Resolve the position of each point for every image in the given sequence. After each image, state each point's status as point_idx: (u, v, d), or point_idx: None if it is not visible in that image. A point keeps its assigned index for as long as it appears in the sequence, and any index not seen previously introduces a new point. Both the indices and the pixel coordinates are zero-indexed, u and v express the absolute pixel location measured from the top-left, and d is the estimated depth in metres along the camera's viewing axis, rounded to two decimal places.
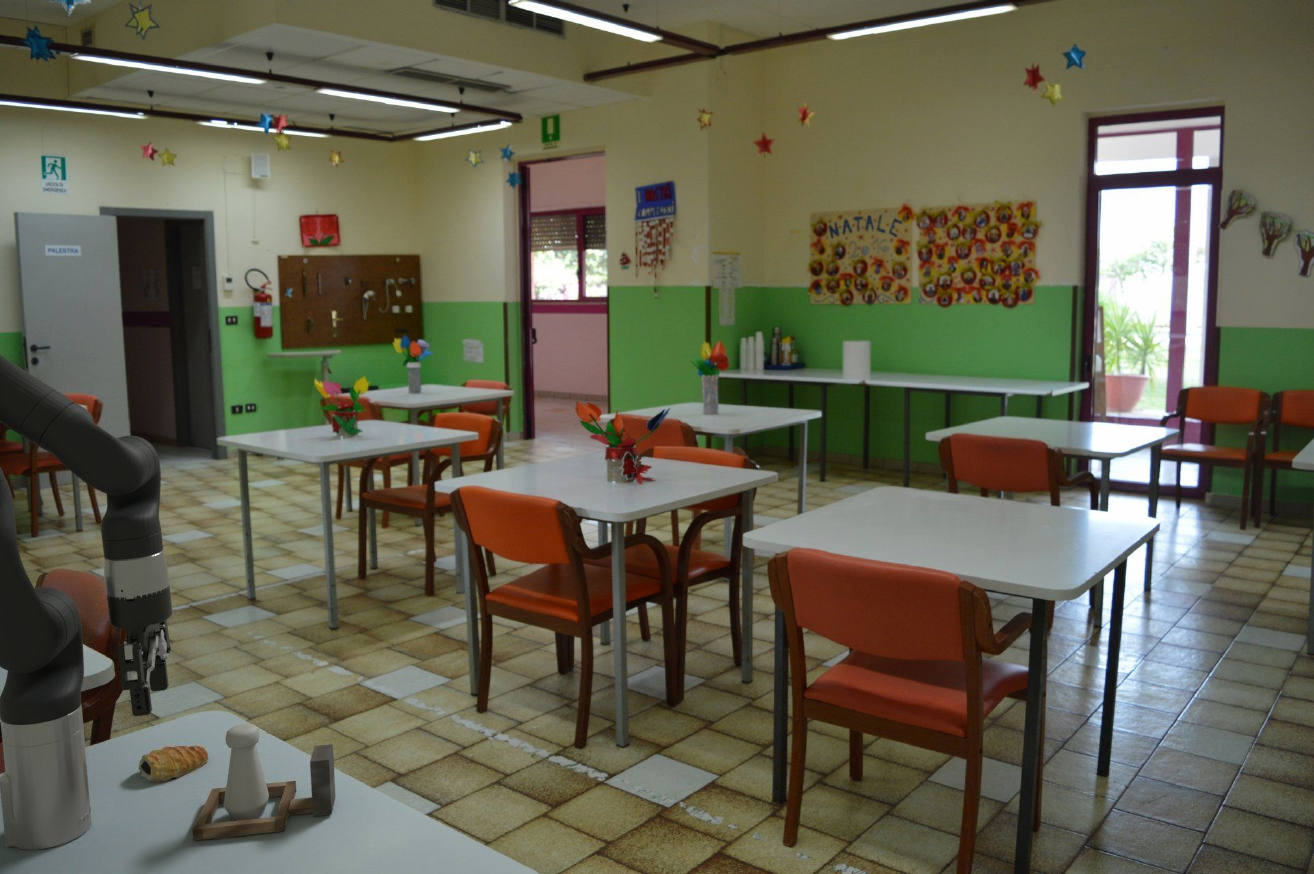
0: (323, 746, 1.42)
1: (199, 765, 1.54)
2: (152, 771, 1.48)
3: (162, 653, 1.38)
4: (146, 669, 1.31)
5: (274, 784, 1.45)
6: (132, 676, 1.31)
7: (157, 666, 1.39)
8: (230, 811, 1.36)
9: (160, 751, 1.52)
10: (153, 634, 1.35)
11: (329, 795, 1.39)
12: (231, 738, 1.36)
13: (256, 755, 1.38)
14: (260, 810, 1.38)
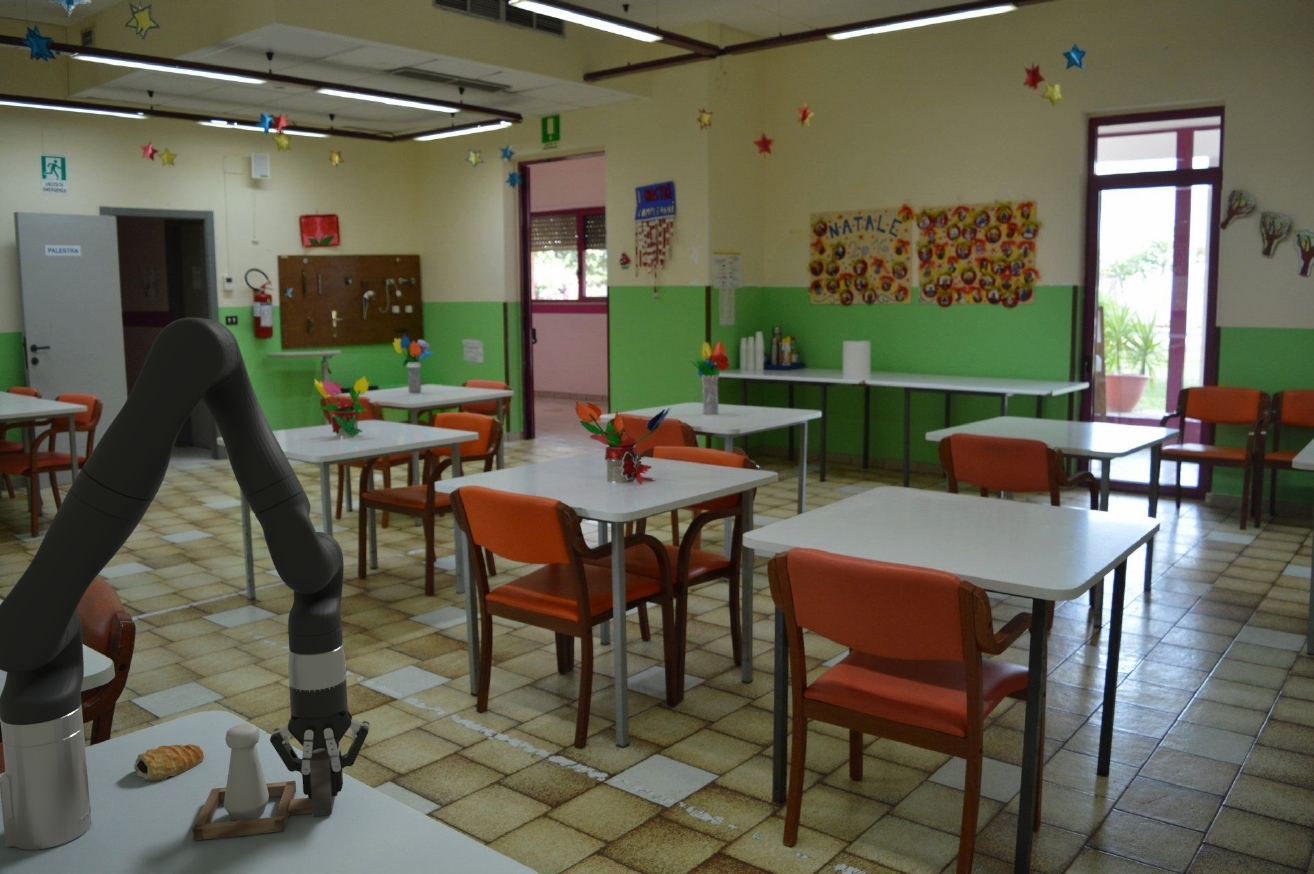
0: None
1: (195, 764, 1.54)
2: (149, 770, 1.49)
3: None
4: (340, 749, 1.42)
5: (274, 784, 1.45)
6: None
7: None
8: (230, 811, 1.36)
9: (156, 750, 1.52)
10: None
11: (329, 795, 1.39)
12: (231, 738, 1.36)
13: (256, 755, 1.38)
14: (260, 810, 1.38)
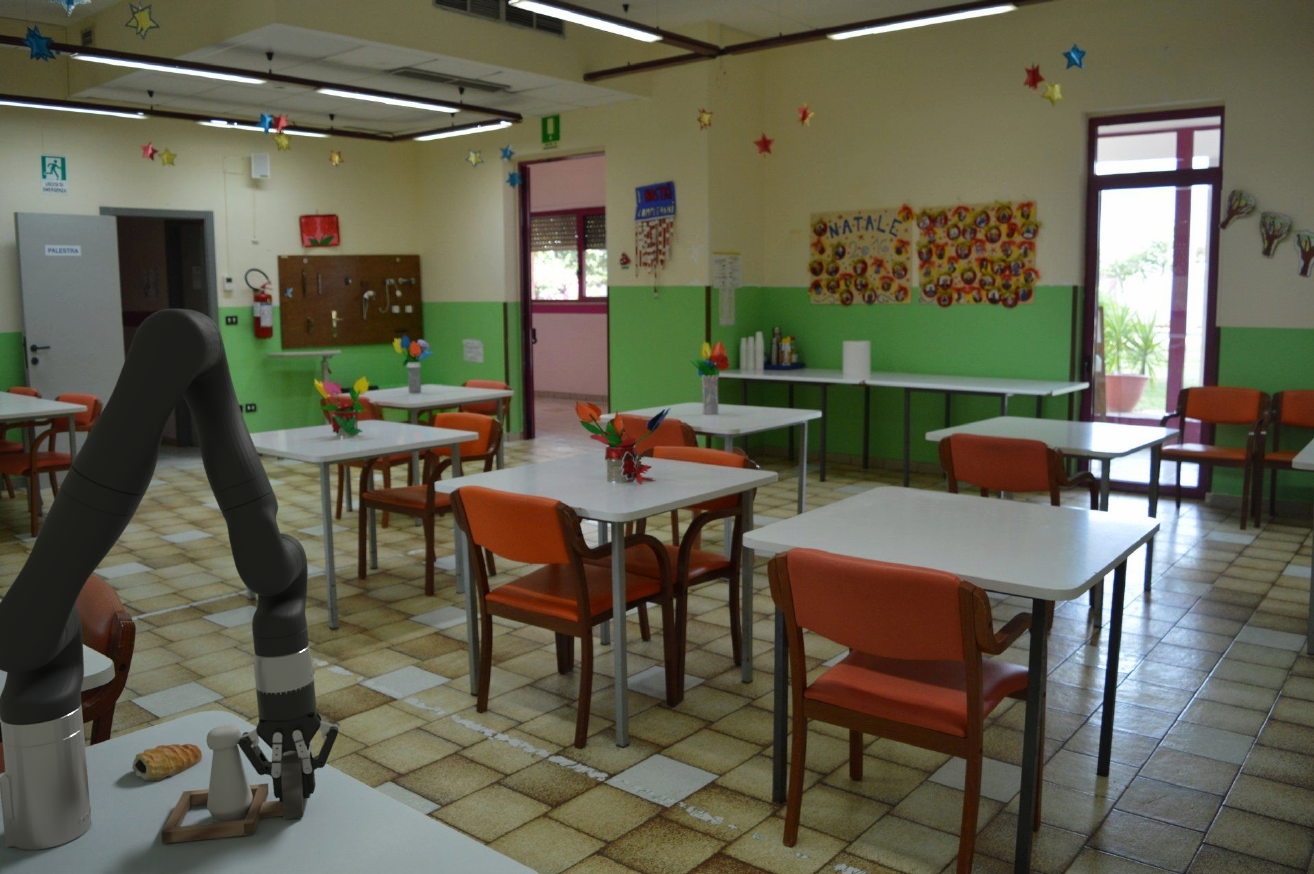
0: None
1: (194, 763, 1.54)
2: (148, 769, 1.49)
3: None
4: (311, 750, 1.41)
5: None
6: None
7: None
8: (213, 812, 1.36)
9: (154, 749, 1.52)
10: None
11: (300, 798, 1.38)
12: (211, 739, 1.35)
13: (238, 756, 1.38)
14: (243, 811, 1.37)
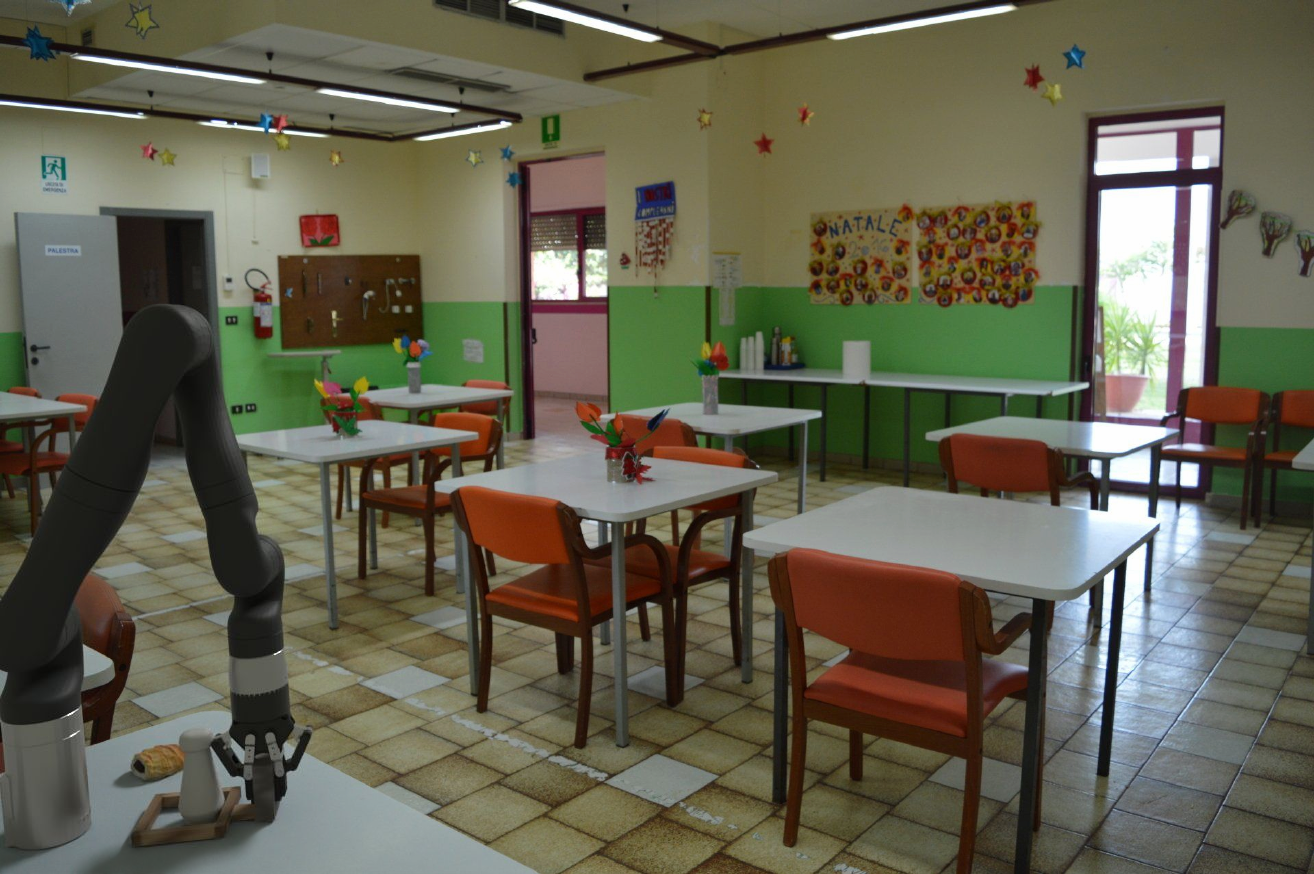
0: None
1: None
2: (146, 769, 1.49)
3: (257, 754, 1.40)
4: (284, 753, 1.40)
5: None
6: None
7: None
8: (184, 815, 1.35)
9: (152, 749, 1.52)
10: None
11: (272, 801, 1.37)
12: (183, 741, 1.35)
13: (210, 759, 1.37)
14: (214, 814, 1.37)
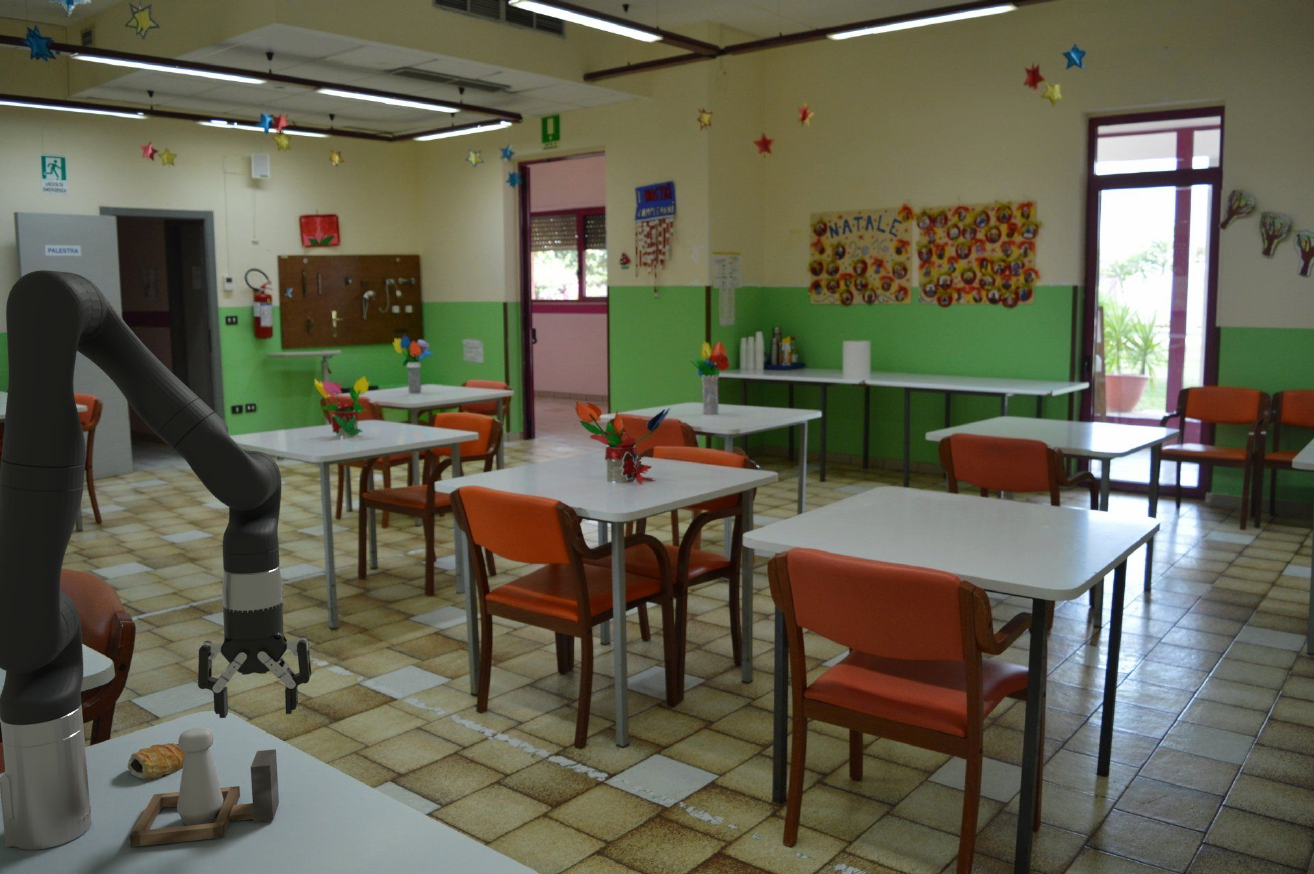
0: (266, 751, 1.41)
1: None
2: (144, 769, 1.49)
3: None
4: (289, 667, 1.39)
5: None
6: None
7: (225, 690, 1.36)
8: (182, 815, 1.35)
9: (149, 749, 1.53)
10: None
11: (270, 801, 1.37)
12: (183, 741, 1.35)
13: (210, 759, 1.37)
14: (213, 814, 1.37)
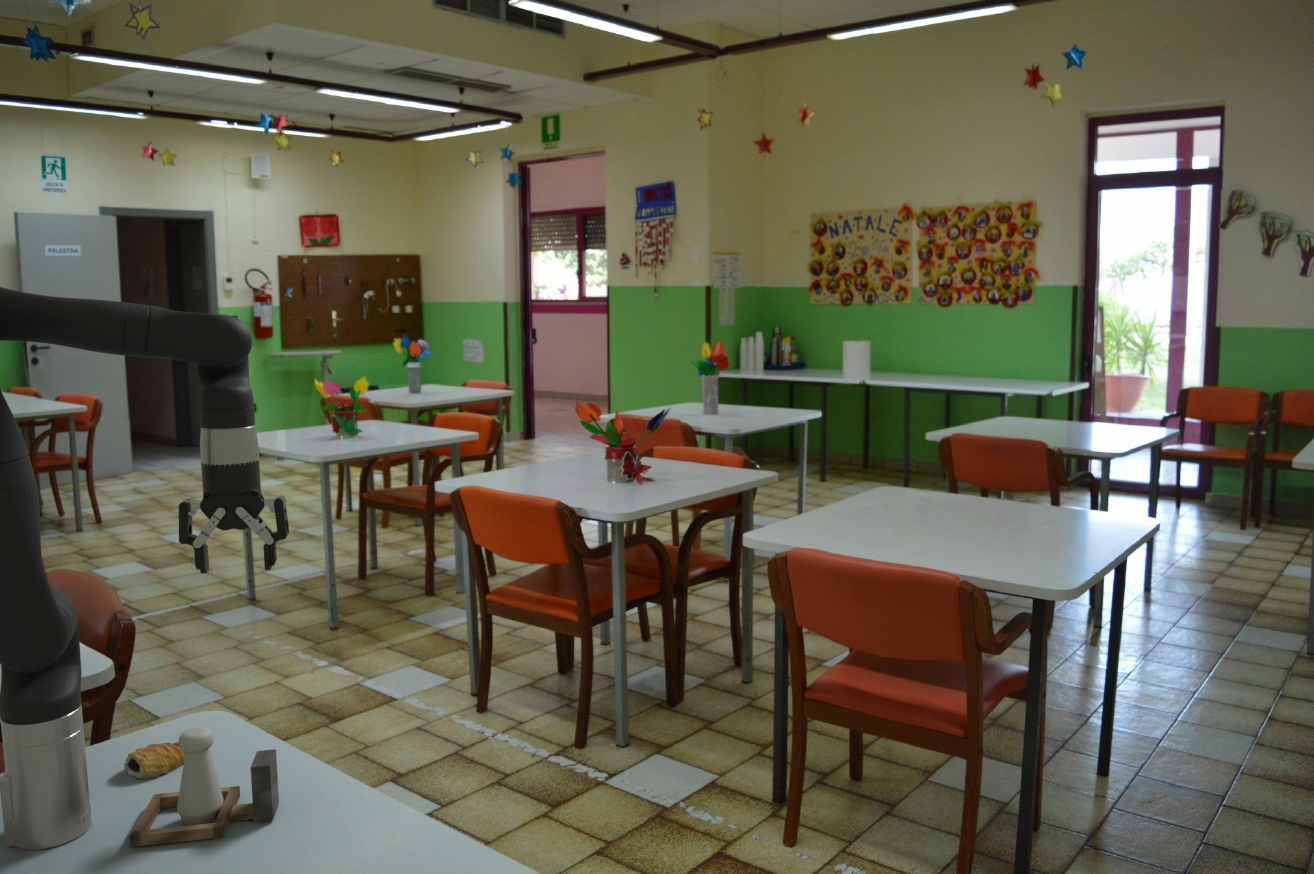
0: (266, 751, 1.41)
1: None
2: (142, 768, 1.49)
3: None
4: (267, 525, 1.43)
5: None
6: None
7: (205, 547, 1.41)
8: (182, 815, 1.35)
9: (146, 748, 1.53)
10: None
11: (270, 801, 1.37)
12: (183, 741, 1.35)
13: (210, 759, 1.37)
14: (213, 815, 1.37)
